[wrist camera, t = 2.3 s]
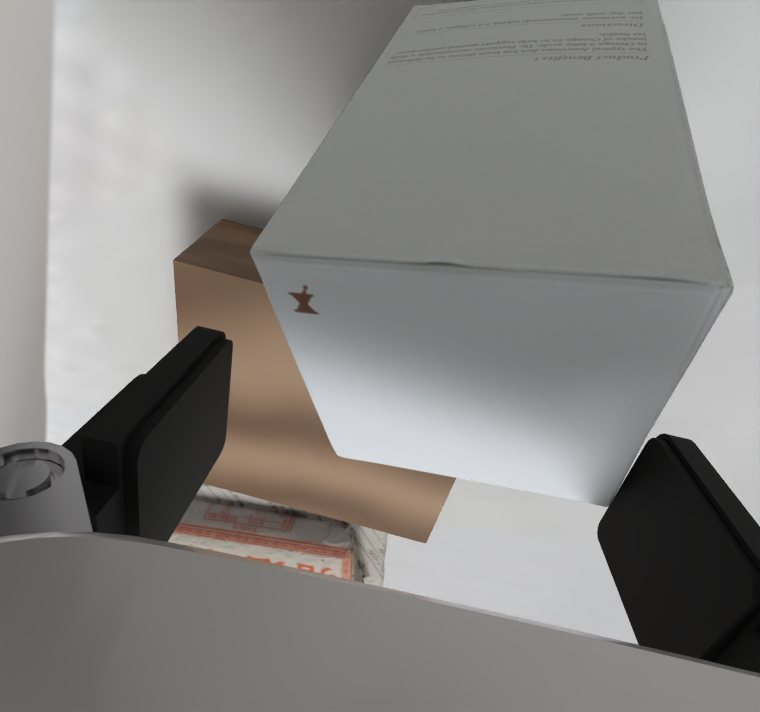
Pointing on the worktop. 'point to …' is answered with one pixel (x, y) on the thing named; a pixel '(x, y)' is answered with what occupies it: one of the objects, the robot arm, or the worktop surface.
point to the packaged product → (281, 535)
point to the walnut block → (285, 404)
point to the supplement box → (502, 247)
